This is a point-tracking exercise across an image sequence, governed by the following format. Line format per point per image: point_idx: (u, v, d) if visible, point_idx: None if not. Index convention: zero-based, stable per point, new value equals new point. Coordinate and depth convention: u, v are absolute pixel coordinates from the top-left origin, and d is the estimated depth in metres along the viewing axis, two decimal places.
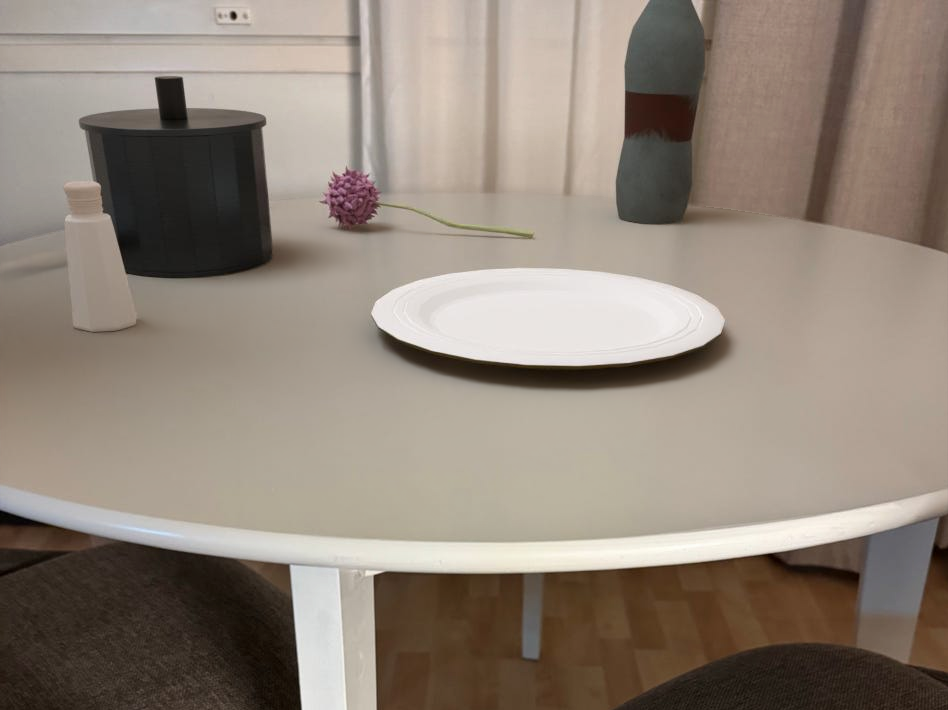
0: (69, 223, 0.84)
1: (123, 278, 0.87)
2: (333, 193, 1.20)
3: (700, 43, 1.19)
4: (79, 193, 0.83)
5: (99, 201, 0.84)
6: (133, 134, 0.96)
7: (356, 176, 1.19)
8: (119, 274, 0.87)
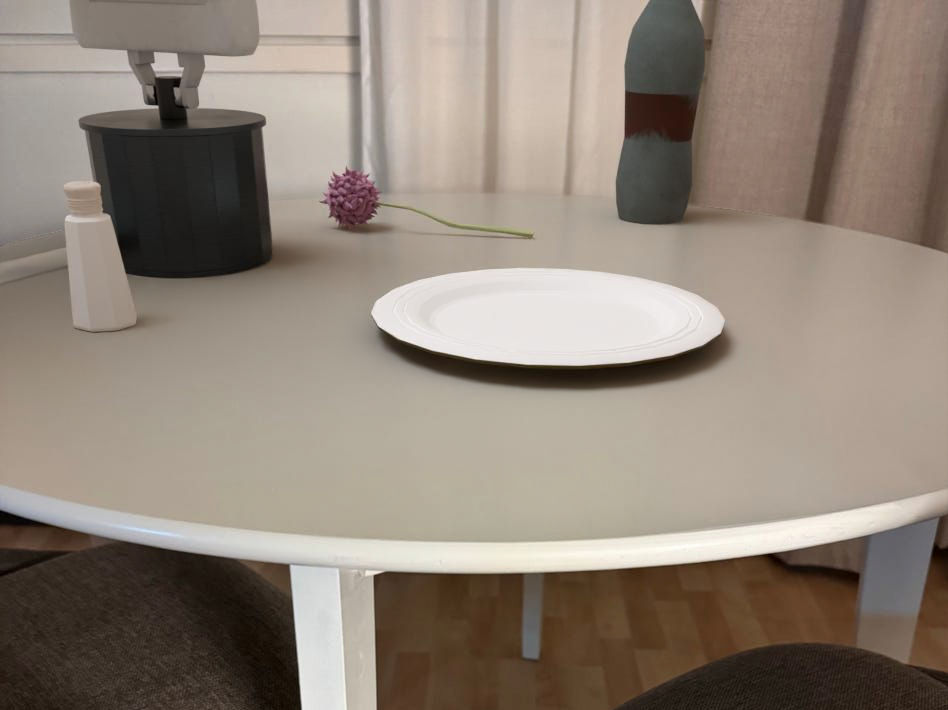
0: (69, 223, 0.84)
1: (123, 278, 0.87)
2: (333, 193, 1.20)
3: (700, 43, 1.19)
4: (79, 193, 0.83)
5: (99, 201, 0.84)
6: (133, 134, 0.96)
7: (356, 176, 1.19)
8: (119, 274, 0.87)
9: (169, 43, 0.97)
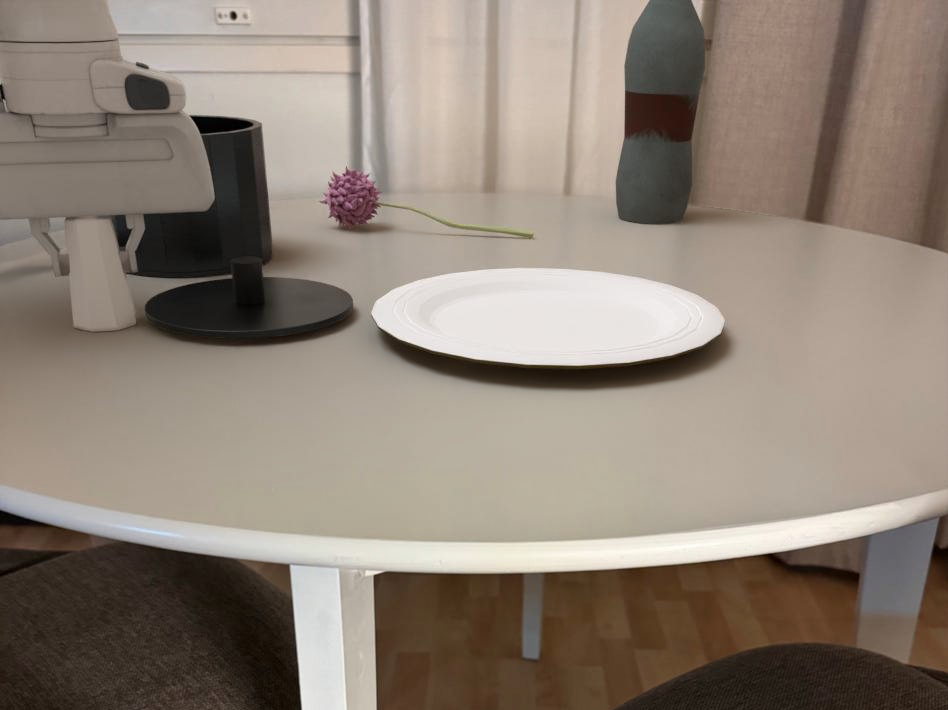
0: (69, 223, 0.84)
1: (123, 278, 0.87)
2: (333, 193, 1.20)
3: (700, 43, 1.19)
4: None
5: None
6: (210, 336, 0.84)
7: (356, 176, 1.19)
8: (119, 274, 0.87)
9: (115, 205, 0.84)
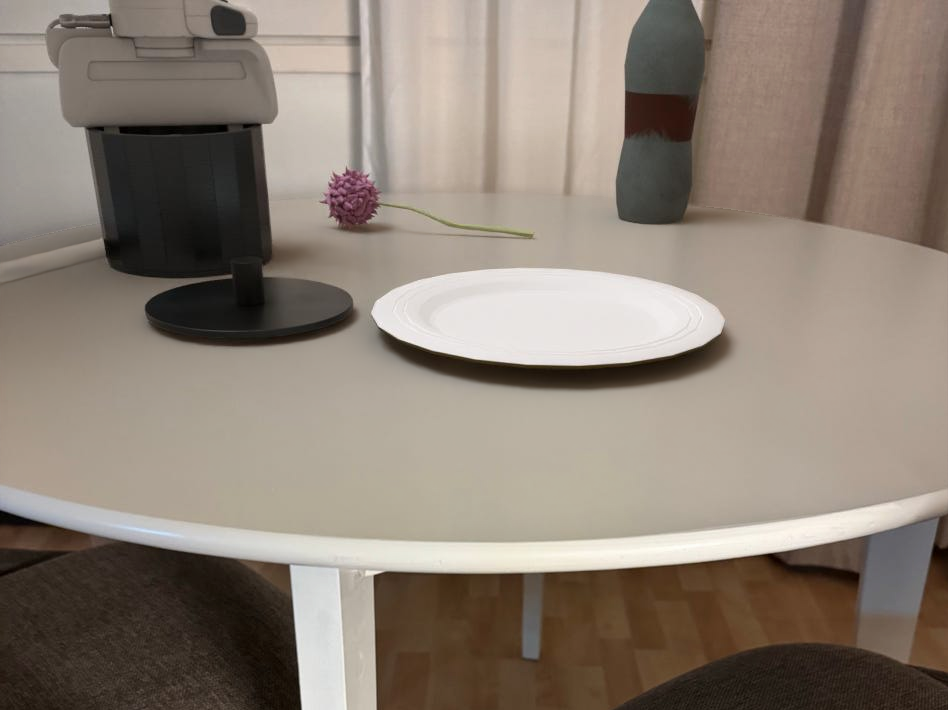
0: None
1: None
2: (333, 193, 1.20)
3: (700, 43, 1.19)
4: None
5: None
6: (210, 336, 0.84)
7: (356, 176, 1.19)
8: None
9: (197, 116, 1.02)
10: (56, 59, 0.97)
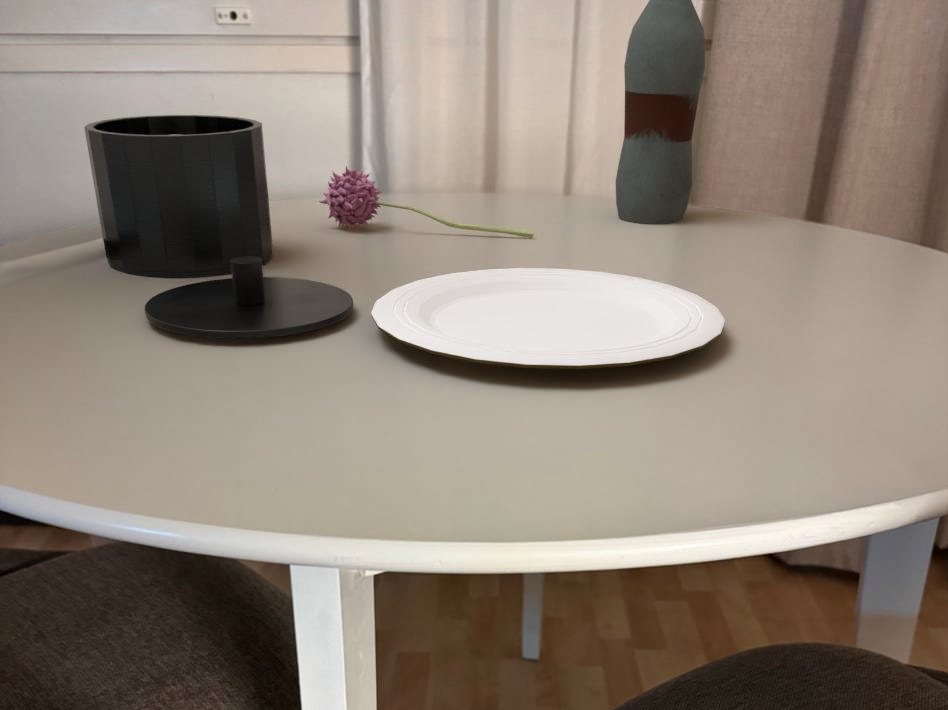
0: None
1: None
2: (333, 193, 1.20)
3: (700, 43, 1.19)
4: None
5: None
6: (210, 336, 0.84)
7: (356, 176, 1.19)
8: None
9: None
10: None
